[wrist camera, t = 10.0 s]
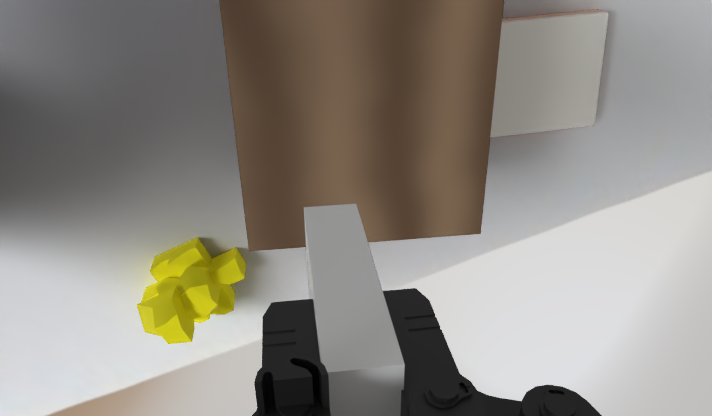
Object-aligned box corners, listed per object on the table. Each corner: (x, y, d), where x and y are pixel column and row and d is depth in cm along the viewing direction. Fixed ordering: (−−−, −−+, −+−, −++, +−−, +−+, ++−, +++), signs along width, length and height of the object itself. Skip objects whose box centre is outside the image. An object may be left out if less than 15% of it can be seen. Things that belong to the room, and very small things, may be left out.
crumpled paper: (258, 281, 46) (255, 344, 39) (171, 319, 47) (154, 388, 40) (222, 225, 44) (212, 282, 37) (131, 266, 44) (104, 330, 37)
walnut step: (254, 180, 42) (248, 251, 33) (233, -22, 36) (219, -2, 27) (439, 169, 43) (480, 233, 35) (450, -28, 37) (505, -10, 28)
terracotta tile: (594, 125, 42) (581, 117, 44) (608, 12, 38) (594, 8, 40) (489, 137, 41) (480, 128, 43) (493, 24, 37) (483, 19, 39)
